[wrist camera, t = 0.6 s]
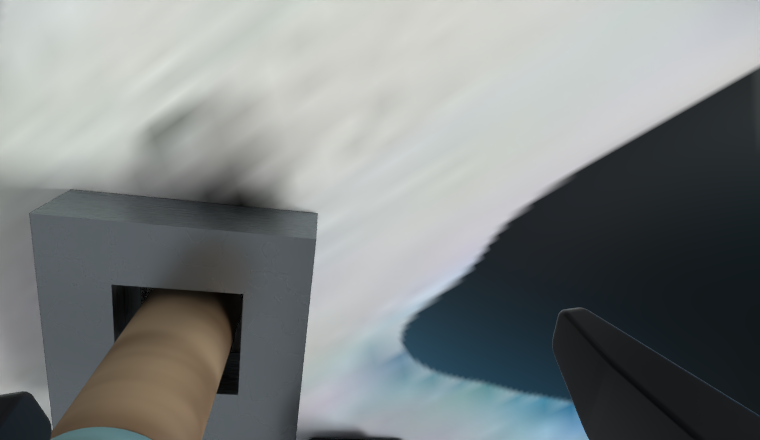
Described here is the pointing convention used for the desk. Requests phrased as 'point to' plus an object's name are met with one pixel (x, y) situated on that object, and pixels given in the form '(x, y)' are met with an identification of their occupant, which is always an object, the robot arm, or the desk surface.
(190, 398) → the end plug
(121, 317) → the housing
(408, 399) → the desk surface
